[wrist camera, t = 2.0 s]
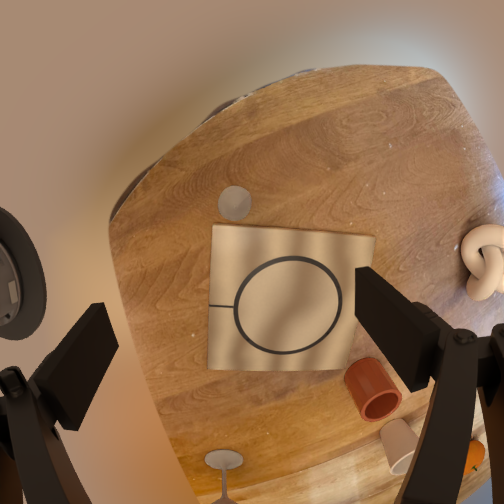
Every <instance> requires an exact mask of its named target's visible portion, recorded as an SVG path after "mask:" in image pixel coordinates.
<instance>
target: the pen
mask: <svg viewBox="0 0 504 504" xmlns="http://www.w3.org/2000/svg"><path fill="white" fill-rule="evenodd" d="M251 202H252V200H251V196H250V193H249V192H248V191H247V190H246V189H244V188H242V187H240V186H230V187H227V188H225V189H224V191H223V192H222V193H221V195H220V197H219V200H218V209H219V212H220V214H221V215H222V216H223V217H224V218H226V219H228V220H232V221H238V220H241V219H244V218H245V217H246V216H247V214H248V213H249V211H250V208H251Z"/></svg>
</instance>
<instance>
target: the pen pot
mask: <svg viewBox="0 0 504 504" xmlns="http://www.w3.org/2000/svg"><path fill="white" fill-rule="evenodd" d="M344 381H345V384H346V387H347V389H348V391H349V393H350V395H351V397H352V399H353V401H354V403H355V405H356V407H357V409H358V411H359V414H360V416H361V418H362V419H364V420H365V421H369V422H374V421H379V420H381V419H384V418H386V417H388V416H389V415H390V414H392V413H393V412H394V411H395V410H396V409H397V408H398V407H399V405H400V403H401V401H402V394H401V393H400V391H399V390H398V388H397V387H396V385H395V384H394V382H393V381H392V379H391V378H390V376H389V375H388V373H387V372H386V370H385V369H384V367H383V366H382V365H381V363H380V362H379V361H378V360H377V359H375V358H364V359H361V360H359V361H357V362H355V363H354V364H353V365H352V366H351V367H350V368H349V369H348V370H347V372H346V374H345V378H344Z"/></svg>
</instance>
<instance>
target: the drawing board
mask: <svg viewBox="0 0 504 504" xmlns="http://www.w3.org/2000/svg"><path fill="white" fill-rule="evenodd" d="M375 242H376V237H375V236H373V235H362V234H351V233H340V232H329V231H317V230H305V229H292V228H279V227H265V226H251V225H237V224H221V223H213V225H212V242H211V262H210V286H209V314H208V357H207V369H216V370H239V371H313V370H336V369H345V367H346V364H347V361H348V357H349V354H350V350H351V347H352V343H353V340H354V336H355V332H356V329H357V325H358V319H357V318H356V317H355V315H354V312H355V268H359V267H365V266H369V267H370V268H371V264H372V259H373V253H374V248H375Z"/></svg>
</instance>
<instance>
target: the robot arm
mask: <svg viewBox="0 0 504 504" xmlns="http://www.w3.org/2000/svg"><path fill="white" fill-rule="evenodd" d="M23 300H24V288H23V281H22V276H21V273H20V269H19V267H18V264H17V262H16V260H15V257H14V256H13V254H12V252H11V250H10V249H9V247H8V246H7V245H6V244H5V242H4V241H3V240H2V239H1V238H0V326H2V325H5V324H7V323H9V322H10V321H12V320H13V319H14V318H15V317H16V316H17V315H18V314H19V312H20V310H21V308H22V305H23ZM354 315H355V317H356V318H357V319H358V321H359V322H360V323H361V325H362V326H363V327H364V329H365V330H366V331H367V333H368V334H369V335H370V337H371V338H372V339H373V341H374V342H375V343H376V345H377V346H378V347H379V349H380V350H381V352H382V353H383V354H384V356H385V357H386V358H387V360H388V361H389V363H390V364H391V365H392V367H393V368H394V370H395V371H396V372H397V374H398V375H399V377H400V378H401V379H402V381H403V382H404V384H405V385H406V386H407V388H408V389H409V391H410V392H411V393H413V392H416V391H418V390H421V389H424V388H426V387H427V386H428V382H429V379H430V376H431V377H432V378H433V379H434V380H435V385H434V388H433V391H432V395H431V398H430V404H429V407H428V411H427V415H426V418H425V422H424V425H423V428H422V431H421V434H420V438H419V441H418V444H417V447H416V449H415V452H414V455H413V458H412V460H411V463H410V466H409V468H408V471H407V473H406V476H405V478H404V481H403V483H402V486H401V488H400V490H399V493H398V495H397V497H396V499H395V501H394V504H456V500H457V497H458V493H459V490H460V486H461V482H462V478H463V474H464V469H465V465H466V460H467V455H468V450H469V445H470V439H471V433H472V426H473V419H474V410H475V401H476V389H477V390H478V394H479V399H480V404H481V408H482V413H483V419H484V424H485V430H486V436H487V443H488V450H489V458H490V468H491V479H492V496H493V504H504V323H501V324H497V325H495V326H494V327H493V329H492V333H491V336H486V337H478V338H477V335H476V334H475V333H474V332H472V331H470V330H467V329H453V328H452V327H451V326H450V325H449V324H448V323H446V322H445V321H444V320H443V319H442V318H441V317H438V315H437V314H436V313H435V312H433V311H432V310H431V309H430V308H429V307H428V306H426V305H424V304H422V303H419V302H413V303H411V302H410V301H409V300H408V299H407V298H406V297H404V296H403V295H402V294H401V293H400V292H399V291H397V290H396V289H395V288H394V287H393V286H392V285H390V284H389V283H388V282H387V281H386V280H385V279H383V278H382V277H381V276H380V275H379V274H377V273H376V272H375V271H374V270H373V269H371V268H370V267H369V266H365V267H359V268H355V312H354ZM118 347H119V345H118V342H117V339H116V337H115V334H114V331H113V328H112V325H111V323H110V319H109V316H108V313H107V310H106V307H105V305H104V302H102V303H93V304H91V305H90V307H89V308H88V309H87V310H86V311H85V313H84V314H83V315H82V316H81V317H80V318H79V320H78V321H77V322H76V323H75V325H74V326H73V327H72V328H71V330H70V331H69V332H68V333H67V335H66V336H65V337H64V338H63V340H62V341H61V342H60V343H59V345H58V346H57V347H56V348H55V350H53V351H52V352H51V353H49V354H48V355H47V356H46V357H45V359H44V360H43V361H42V363H41V364H40V365H39V366H38V368H37V369H36V370H35V372H34V373H33V375H32V376H31V377H30V378H29V380H28V381H26V379H25V377H24V376H23V374H22V372H21V370H20V368H19V367H17V366H11V367H7V368H5V369H4V370H2V371H1V372H0V389H1V391H2V393H3V394H4V396H3V397H0V504H23V491H24V495H25V498H26V501H27V504H92V503H91V501H90V499H89V497H88V495H87V494H86V492H85V490H84V488H83V486H82V484H81V482H80V480H79V478H78V476H77V474H76V472H75V470H74V468H73V465H72V463H71V461H70V459H69V457H68V454H67V452H66V450H65V447H64V445H63V443H62V440H61V438H60V435H59V433H58V431H57V429H56V428H55V426H54V425H55V423H56V421H57V420H58V421H59V423H60V424H61V426H62V427H63V429H65V430H73V431H78V430H79V428H80V426H81V423H82V421H83V419H84V417H85V414H86V412H87V410H88V408H89V406H90V404H91V402H92V399H93V397H94V395H95V393H96V391H97V389H98V387H99V385H100V383H101V381H102V379H103V377H104V375H105V373H106V370H107V369H108V367H109V365H110V363H111V361H112V359H113V357H114V355H115V353H116V351H117V349H118ZM22 488H23V491H22Z"/></svg>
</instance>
